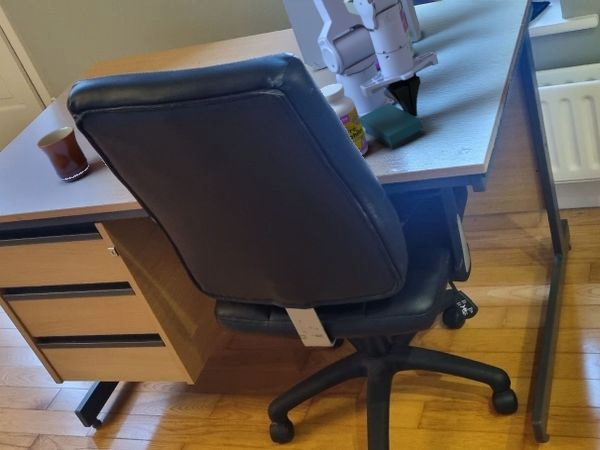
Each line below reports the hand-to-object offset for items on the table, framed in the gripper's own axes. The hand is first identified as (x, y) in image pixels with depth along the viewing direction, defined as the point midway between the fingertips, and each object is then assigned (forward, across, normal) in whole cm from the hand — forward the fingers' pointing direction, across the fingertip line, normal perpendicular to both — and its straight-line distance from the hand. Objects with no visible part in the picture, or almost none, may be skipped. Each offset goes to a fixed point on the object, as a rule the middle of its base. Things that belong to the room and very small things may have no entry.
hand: (411, 115), depth 140 cm
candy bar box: (+2, +11, +31) cm, 33 cm away
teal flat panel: (+1, -4, 0) cm, 5 cm away
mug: (+2, -61, +55) cm, 82 cm away
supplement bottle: (+2, -13, 0) cm, 13 cm away
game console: (+2, +11, +44) cm, 45 cm away
